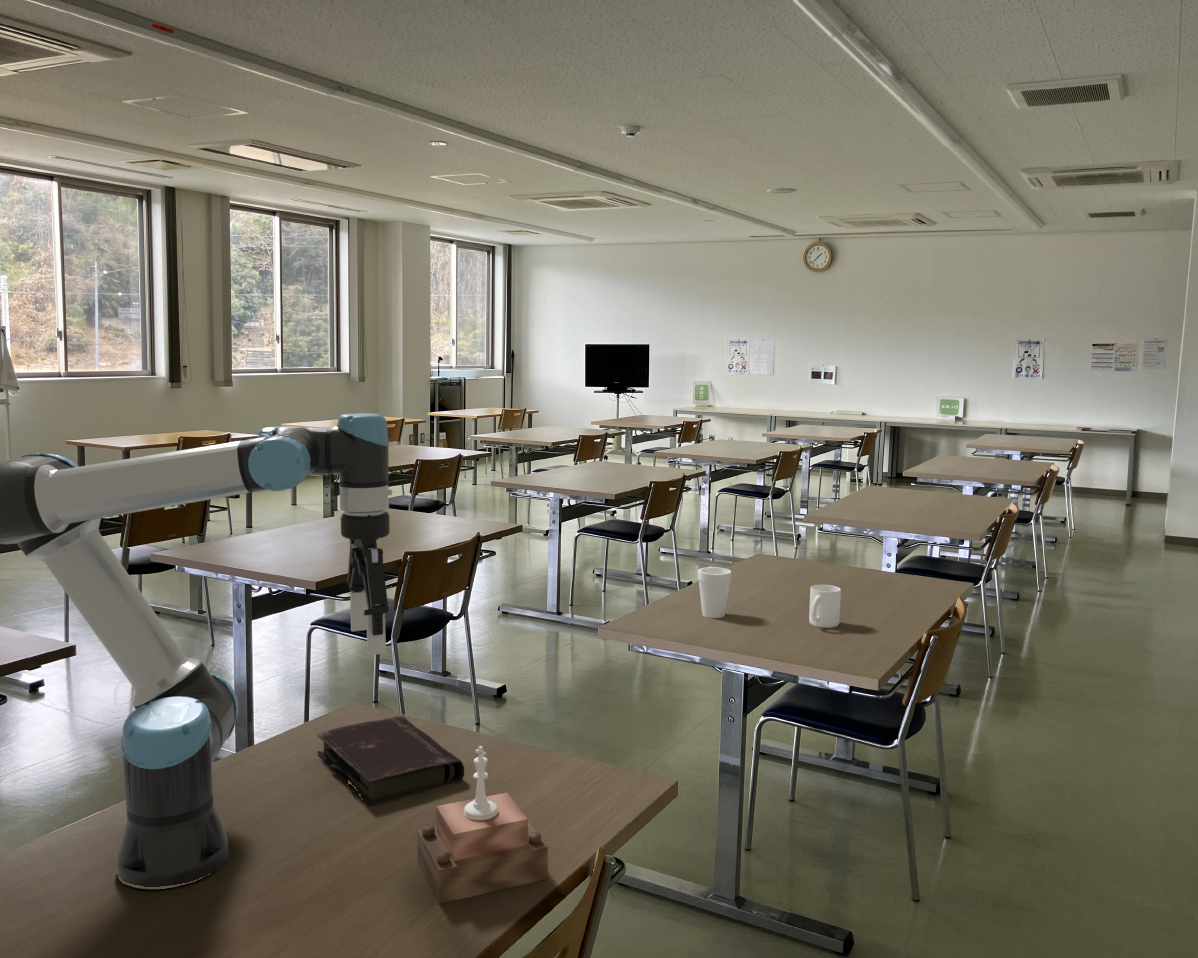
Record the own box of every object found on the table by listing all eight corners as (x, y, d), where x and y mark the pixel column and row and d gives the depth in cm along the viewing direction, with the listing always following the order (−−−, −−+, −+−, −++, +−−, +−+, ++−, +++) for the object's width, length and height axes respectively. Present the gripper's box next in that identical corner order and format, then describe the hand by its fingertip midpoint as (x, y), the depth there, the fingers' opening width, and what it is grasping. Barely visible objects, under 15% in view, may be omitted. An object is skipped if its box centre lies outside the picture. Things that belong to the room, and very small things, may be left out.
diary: (405, 737, 191) (405, 712, 190) (464, 784, 170) (464, 757, 170) (312, 757, 180) (312, 732, 179) (364, 810, 160) (363, 781, 159)
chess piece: (481, 800, 143) (480, 736, 142) (504, 811, 140) (504, 745, 139) (456, 812, 140) (456, 747, 138) (480, 823, 137) (480, 756, 135)
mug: (825, 633, 261) (827, 596, 260) (797, 627, 266) (799, 591, 265) (844, 623, 270) (845, 587, 269) (816, 618, 275) (818, 583, 274)
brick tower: (439, 904, 132) (438, 842, 131) (417, 861, 143) (416, 804, 142) (547, 878, 139) (547, 820, 138) (519, 839, 150) (519, 785, 149)
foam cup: (695, 618, 274) (697, 573, 272) (697, 609, 283) (699, 566, 281) (729, 620, 272) (730, 575, 270) (730, 611, 281) (731, 568, 279)
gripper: (407, 523, 143) (409, 661, 145) (372, 498, 165) (375, 618, 168) (355, 526, 139) (359, 668, 142) (327, 501, 162) (331, 623, 165)
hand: (367, 641), depth 155 cm, fingers open, 13 cm apart
